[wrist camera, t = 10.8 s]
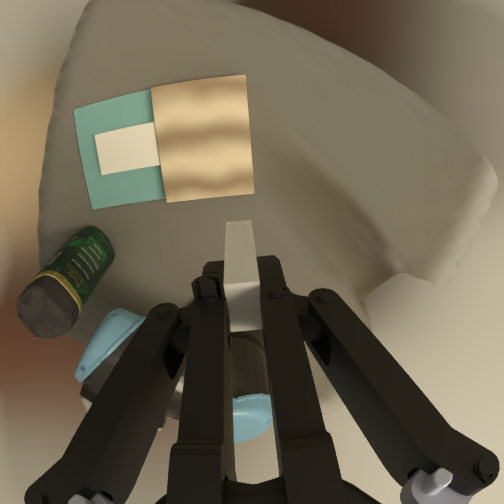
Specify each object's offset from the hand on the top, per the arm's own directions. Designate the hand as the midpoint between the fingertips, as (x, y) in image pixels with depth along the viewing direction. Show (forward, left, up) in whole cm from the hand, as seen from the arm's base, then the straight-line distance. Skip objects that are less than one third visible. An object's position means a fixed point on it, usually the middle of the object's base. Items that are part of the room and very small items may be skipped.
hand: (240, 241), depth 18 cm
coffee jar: (-11, +26, -25) cm, 37 cm away
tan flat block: (+4, +4, -24) cm, 25 cm away
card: (+4, +15, -24) cm, 28 cm away
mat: (+4, +17, -24) cm, 30 cm away
